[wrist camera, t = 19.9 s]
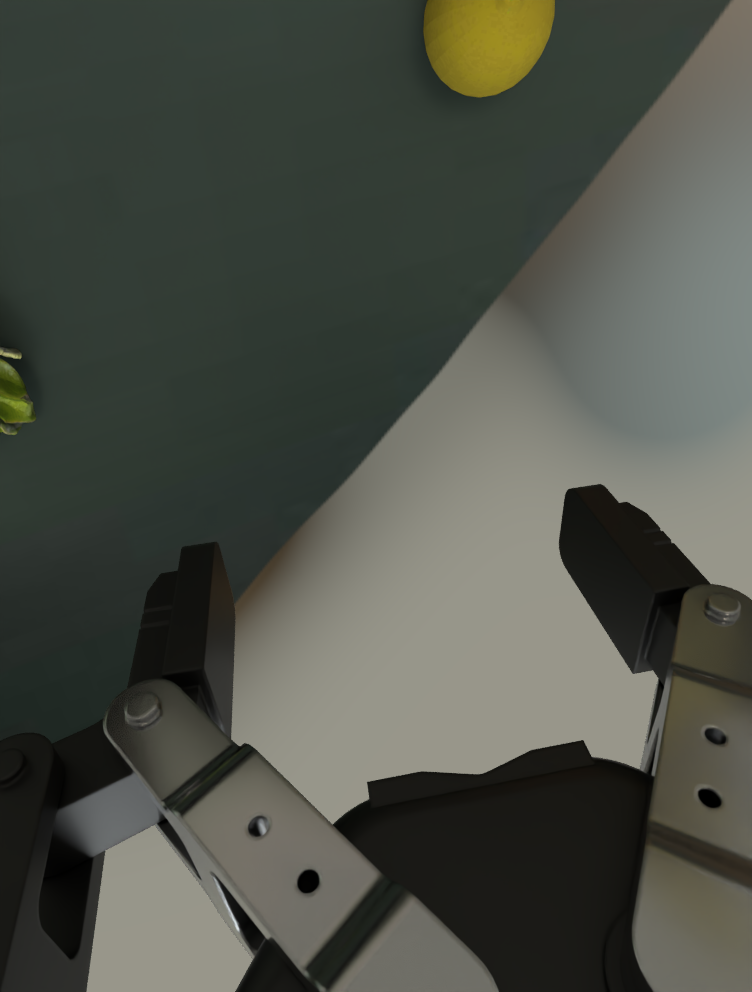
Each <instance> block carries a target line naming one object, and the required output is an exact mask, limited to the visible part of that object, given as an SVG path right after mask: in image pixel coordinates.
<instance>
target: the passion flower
mask: <svg viewBox="0 0 752 992" xmlns="http://www.w3.org/2000/svg"><path fill="white" fill-rule="evenodd" d="M0 355H3V356H5V357H12V358H14V359H15V358H17V359H21V358H22V354H21V352H20V351H19V350H18V349H15V348H11V349H8V348H4V347H1V346H0ZM35 420H36V414H35V412H34V408H33V402H32V400H31V399H30V397H29V395H28V394H27V391H26V387H25V384H24V383H23V380H22V379H21V377H20V375H19V374H18V372H17V371H16V370H15V369H14V368H13V367H12V366H11V365H10V364H9V363H7V362H6V361H4V360H3V359H0V433H1V432H4V433H5V434H12V435H15V434H17V433H18V431H19V430H20V429H21V425H22V423H31V422H33V421H35Z"/></svg>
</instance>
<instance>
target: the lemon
mask: <svg viewBox="0 0 752 992" xmlns="http://www.w3.org/2000/svg"><path fill="white" fill-rule="evenodd" d="M554 7H555V0H428V1H427V5H426V8H425V13H424V29H423V34H424V40H425V47H426V52H427V55H428V58H429V60H430V63H431V66H432V67H433V69H434V70H435V72H436V73H437V75H438V76H439V78H440V79H441V80H442V81H443V82H444V83H445V84H446V85H447V86H449V87H450V88H451V89H452V90H455V91H457V92H459V93H461V94H463V95H466V96H473V97H485V96H491V95H496V94H498V93H500V92H503V91H505V90H507V89H509V88H511V87H513V86H514V85H515V84H516V83H517V82H519V81H520V80H521V79H522V78H523V77H524V76H526V75H527V74H528V73H529V71H530V70H531V68H532V67H533V66H534V64H535V63H536V62H537V60H538V59H539V58H540V56H541V54H542V52H543V49H544V47H545V45H546V43H547V41H548V38H549V36H550V32H551V28H552V23H553V19H554Z"/></svg>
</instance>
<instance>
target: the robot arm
mask: <svg viewBox="0 0 752 992" xmlns="http://www.w3.org/2000/svg"><path fill="white" fill-rule="evenodd" d="M559 550H560V555H561V559H562V562H563V564H564V566H565V568H566V569H567V571H568V573H569V574H570V575H571V577H572V579H573V580H574V582H575V584H576V585H577V587H578V588H579V590H580V591H581V593H582V594H583V596H584V598H585V599H586V601H587V602H588V604H589V606H590V607H591V609H592V610H593V612H594V613H595V615H596V616H597V618H598V620H599V621H600V623H601V624H602V626H603V628H604V629H605V631H606V632H607V634H608V635H609V637H610V639H611V640H612V642H613V643H614V645H615V646H616V648H617V650H618V651H619V653H620V654H621V656H622V657H623V659H624V660H625V662H626V664H627V665H628V667H629V668H630V670H631V672H632V673H633V674H635V673H641V672H646V671H651V670H653V671H654V672H655V674H656V675H657V677H658V678H659V679H658V682H657V685H656V689H655V694H654V699H653V705H652V710H651V715H650V720H649V725H648V731H647V736H646V741H645V746H644V751H643V757H642V761H641V765H640V769H637V768H634V767H632V766H629V765H627V764H624V763H620V762H617V761H613V760H608V759H603V758H595V757H591V755H590V753H589V751H588V749H587V747H586V745H585V743H584V741H583V740H581V741H576V742H571V743H566V744H561V745H556V746H550V747H545V748H540V749H535V750H531V751H529V752H527V753H525V754H523V755H521V756H519V757H517V758H515V759H513V760H511V761H509V762H507V763H505V764H503V765H500V766H498V767H496V768H494V769H492V770H490V771H488V772H486V773H483V774H457V773H440V772H416V773H411V774H406V775H401V776H396V777H391V778H385V779H380V780H375V781H370V782H367V784H368V792H369V800H367V801H365V802H363V803H361V804H359V805H357V806H356V807H354V808H353V809H351V810H350V811H348V812H347V813H345V814H344V815H343V816H342V817H341V818H339V819H338V820H337V821H336V822H335V823H334V824H333V825H332V824H331V823H330V822H329V821H328V820H327V819H326V818H325V817H324V816H323V815H322V814H321V813H320V812H319V811H318V810H317V809H316V808H315V807H314V806H313V805H312V804H311V803H310V802H309V801H308V800H307V799H306V798H305V797H304V796H303V795H302V794H301V793H300V792H299V791H298V790H297V789H296V788H295V787H294V786H293V785H292V784H291V783H290V782H289V781H288V780H286V779H285V778H284V777H283V776H282V775H281V774H280V773H279V772H278V771H277V770H276V769H275V768H274V767H273V766H272V765H271V764H270V763H269V762H268V761H267V760H266V759H265V758H264V757H263V756H262V755H261V754H260V753H259V752H258V751H257V750H256V749H255V748H253V747H252V746H251V745H249V744H245V743H244V744H243V745H242V746H238V745H237V744H236V743H234V742H233V741H232V740H231V725H232V699H233V697H232V696H233V671H234V641H235V607H234V600H233V594H232V590H231V587H230V583H229V579H228V576H227V572H226V569H225V565H224V561H223V558H222V554H221V550H220V547H219V545H218V543H217V542H211V543H204V544H198V545H191V546H185V547H182V549H181V555H180V561H179V567H178V571H174V572H167V573H161V574H160V575H159V577H158V578H157V579H156V581H155V582H154V583H153V585H152V586H151V587H150V589H149V590H148V592H147V596H146V601H145V606H144V614H143V615H142V620H141V625H140V626H141V629H140V630H139V635H138V639H137V644H136V649H135V654H134V658H133V663H132V668H131V673H130V677H129V682H128V686H127V689H125V690H124V691H123V692H121V693H120V694H119V695H118V696H117V697H116V698H115V699H114V700H113V701H112V702H111V704H110V705H109V707H108V708H107V710H106V713H105V715H104V718H103V719H102V720H100V721H99V722H97V723H96V724H94V725H92V726H90V727H88V728H86V729H84V730H82V731H79V732H77V733H75V734H73V735H71V736H68V737H66V738H64V739H62V740H59V741H57V742H55V743H53V744H51V742H50V741H49V739H47V738H46V737H45V736H43V735H41V734H37V733H22V734H17V735H13V736H10V737H8V738H6V739H3V740H1V741H0V992H86V990H87V982H88V974H89V967H90V960H91V953H92V945H93V938H94V930H95V922H96V915H97V908H98V900H99V893H100V886H101V878H102V871H103V863H104V856H105V850H107V849H109V848H111V847H113V846H115V845H117V844H119V843H120V842H122V841H124V840H126V839H128V838H130V837H132V836H134V835H136V834H137V833H140V832H141V831H143V830H145V829H147V828H149V827H151V826H153V825H155V826H156V828H157V829H158V830H159V831H160V833H161V834H162V835H163V837H164V838H165V839H166V840H167V842H168V843H169V845H170V846H171V847H172V849H173V850H174V851H175V853H176V854H177V855H178V856H179V858H180V859H181V860H182V862H183V863H184V864H185V866H186V867H187V868H188V870H189V871H190V872H191V873H192V875H193V876H194V877H195V879H196V880H197V881H198V882H199V884H200V885H201V887H202V888H203V889H204V891H205V892H206V894H207V895H208V896H209V898H210V900H211V901H212V903H213V904H214V906H215V907H216V909H217V911H218V912H219V914H220V915H221V917H222V918H223V920H224V921H225V923H226V924H227V925H228V927H229V928H230V930H231V931H232V932H233V934H234V935H235V936H236V938H237V939H238V940H239V942H240V943H241V944H242V946H243V947H244V948H245V950H246V951H247V952H248V954H249V955H250V956H251V958H252V959H253V961H252V962H251V964H250V966H249V968H248V970H247V971H246V973H245V975H244V977H243V979H242V981H241V982H240V984H239V986H238V988H237V990H236V991H235V992H752V600H751V599H750V598H749V597H747V596H746V595H744V594H742V593H741V592H739V591H737V590H734V589H732V588H728V587H725V586H721V585H714V584H710V583H709V582H708V581H707V579H706V578H705V577H704V576H703V575H702V574H701V573H700V572H699V570H698V569H697V568H696V567H695V566H694V565H693V564H692V563H691V562H690V560H689V559H688V558H687V557H686V556H685V555H684V554H683V553H682V552H681V551H680V549H679V548H678V547H677V546H676V545H675V544H674V543H671V539H670V538H669V537H668V536H667V535H666V534H665V533H664V532H663V531H661V530H660V527H659V526H658V525H657V524H656V523H655V522H654V521H653V520H652V519H651V517H649V515H648V514H647V513H645V512H644V511H642V510H640V509H638V508H637V507H635V506H633V505H631V504H630V503H628V502H623V503H618V501H617V500H616V499H615V498H614V496H613V495H612V494H611V493H610V492H609V491H608V489H607V488H606V487H605V486H603V485H601V484H598V485H591V486H585V487H578V488H572V489H568V490H567V492H566V494H565V499H564V507H563V515H562V523H561V531H560V537H559Z"/></svg>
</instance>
